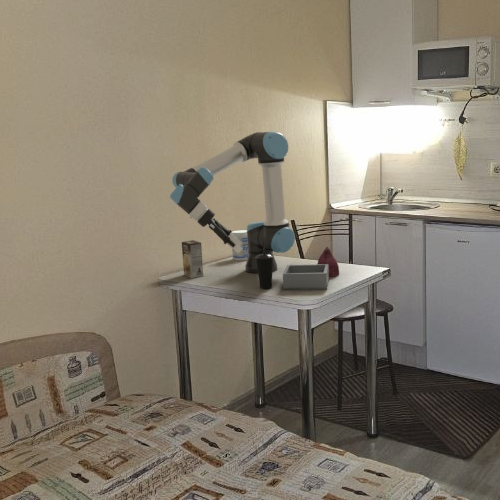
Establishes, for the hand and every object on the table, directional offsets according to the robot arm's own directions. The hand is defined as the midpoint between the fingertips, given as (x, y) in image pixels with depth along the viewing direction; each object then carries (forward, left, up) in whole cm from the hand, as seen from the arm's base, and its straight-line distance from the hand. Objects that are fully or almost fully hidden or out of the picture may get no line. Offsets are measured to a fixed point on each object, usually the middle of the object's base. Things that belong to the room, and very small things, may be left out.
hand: (240, 248), depth 292 cm
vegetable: (-25, +35, -18) cm, 46 cm away
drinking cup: (-2, +10, -18) cm, 20 cm away
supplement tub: (-65, -11, -18) cm, 68 cm away
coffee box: (-29, -28, -18) cm, 44 cm away
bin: (-6, +27, -18) cm, 33 cm away
